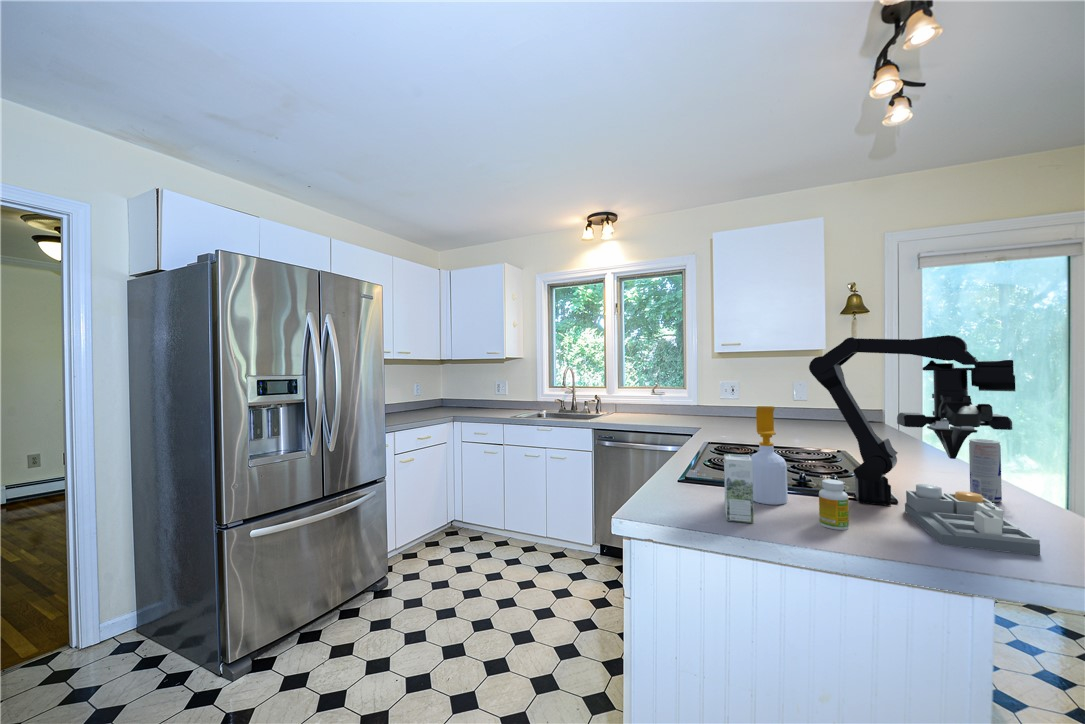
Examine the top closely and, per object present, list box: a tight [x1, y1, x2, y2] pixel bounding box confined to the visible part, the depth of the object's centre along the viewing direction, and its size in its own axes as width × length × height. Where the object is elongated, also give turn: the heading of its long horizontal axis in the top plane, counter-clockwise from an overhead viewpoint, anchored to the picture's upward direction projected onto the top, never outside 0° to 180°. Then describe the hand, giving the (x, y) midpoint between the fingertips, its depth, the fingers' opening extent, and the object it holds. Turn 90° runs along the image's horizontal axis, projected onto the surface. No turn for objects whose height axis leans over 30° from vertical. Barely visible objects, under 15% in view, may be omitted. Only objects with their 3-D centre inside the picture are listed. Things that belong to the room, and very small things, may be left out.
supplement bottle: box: [818, 478, 850, 531], centre depth 97 cm, size 5×5×10 cm
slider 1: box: [976, 502, 1004, 526], centre depth 90 cm, size 2×4×4 cm, turn 157°
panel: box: [904, 489, 1041, 556], centre depth 92 cm, size 14×20×5 cm
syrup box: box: [723, 453, 754, 524], centre depth 103 cm, size 6×6×14 cm
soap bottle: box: [750, 405, 789, 506], centre depth 115 cm, size 9×9×25 cm
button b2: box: [954, 490, 983, 503], centre depth 97 cm, size 4×4×3 cm
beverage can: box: [968, 438, 1003, 504], centre depth 111 cm, size 6×6×15 cm
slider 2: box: [974, 510, 1002, 535], centre depth 86 cm, size 2×4×4 cm, turn 157°
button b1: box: [915, 483, 943, 500], centre depth 100 cm, size 4×4×3 cm
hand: (952, 458), depth 101 cm, fingers closed
